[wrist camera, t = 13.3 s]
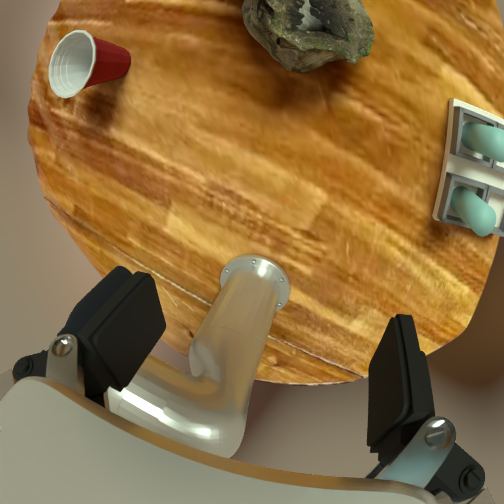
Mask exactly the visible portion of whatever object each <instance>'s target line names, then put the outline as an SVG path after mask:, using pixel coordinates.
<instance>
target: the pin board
mask: <svg viewBox="0 0 504 504" xmlns="http://www.w3.org/2000/svg"><path fill="white" fill-rule="evenodd" d="M467 122H473V123H478V124H483V125H487V126H492V127H496V128H500V129H503V130H504V119H502V118H500V117H498V116H496V115H493V114H491V113H489V112H487V111H485V110H482V109H480V108H477V107H475V106H473V105H470V104H468V103H465V102H462V101H460V100H457V99H454V98H449V115H448V127H447V137H446V145H445V153H444V160H443V166H442V172H441V177H440V183H439V188H438V193H437V197H436V202H435V206H434V210H433V214H432V217H433V218H434V219H435V220H437V221H441V222H443V223H448V224H453V225H457V226H462V227H466V228H470V229H472V230H473V231H474V232H475V233H476V234H477V235H478V236H486V235H488V234H490V233H491V234H495V235H499V236H502V237H504V162H503V163H501V162H497V161H495V160H493V159H491V158H489V157H486V156H484V155H482V154H479V153H477V152H474V151H472V150H469V149H467V148H466V147H465V146H464V145H463V143H462V141H461V136H462V126H463V125H464V124H465V123H467Z"/></svg>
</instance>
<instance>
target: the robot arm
mask: <svg viewBox="0 0 504 504" xmlns="http://www.w3.org/2000/svg"><path fill="white" fill-rule="evenodd" d="M220 285H221V291H220V293H219V294H218V296H217V298H216V300H215V301H214V303H213V305H212V307H211V308H210V310H209V312H208V313H207V315H206V317H205V319H204V320H203V322H202V324H201V326H200V327H199V329H198V331H197V333H196V334H195V336H194V338H193V340H192V342H191V344H190V348H189V364H190V369H191V373H192V375H190V374H188V373H186V372H183V371H181V370H179V369H177V368H175V367H173V366H171V365H169V364H167V363H165V362H164V361H162V360H160V359H158V358H156V357H155V356H153V355H151V354H149V353H150V352H151V350H152V349H153V347H154V346H155V344H156V343H157V342H158V340H159V339H160V337H161V336H162V334H163V333H164V331H165V329H166V322H165V319H164V315H163V312H162V308H161V304H160V301H159V297H158V293H157V289H156V285H155V281H154V279H153V278H152V276H151V275H150V274H148V273H144V272H139V271H137V272H135V273H134V274H133V275H132V276H131V277H130V278H129V279H128V280H127V281H126V282H125V283H124V284H123V285H122V286H121V287H120V288H119V289H118V290H117V291H116V292H115V293H114V294H113V296H112V297H111V298H110V299H109V300H108V301H107V302H106V303H105V304H104V305H103V306H102V307H101V308H100V309H99V310H98V311H97V312H96V313H95V315H94V316H93V317H92V318H91V319H90V320H89V321H88V322H87V323H86V324H85V325H84V327H83V328H82V329H81V330H80V331H79V332H78V333H77V334H78V336H79V338H78V339H76V337H75V336H73V335H71V334H63V335H60V336H58V337H56V338H55V339H54V340H53V341H52V342H51V344H50V346H49V350H48V351H45V352H41V353H38V354H33V355H29V356H25V357H23V358H21V359H19V360H18V361H17V362H16V364H15V366H14V368H13V371H12V369H10V370H8V371H6V372H5V373H3V374H1V375H0V504H495V502H494V500H493V498H492V496H491V494H490V492H489V490H488V488H487V487H486V488H484V487H483V485H484V481H485V472H484V469H483V468H482V466H481V465H480V464H479V463H478V462H477V461H475V460H474V459H473V458H472V457H471V456H470V455H469V454H467V453H466V452H465V451H464V450H463V449H461V447H460V446H458V445H457V444H456V443H455V440H456V430H455V427H454V425H453V423H452V422H451V421H450V420H449V419H447V418H445V417H443V416H435V410H434V402H433V395H432V388H431V383H430V376H429V370H428V365H427V360H426V356H425V353H424V352H423V351H420V347H419V342H418V338H417V333H416V329H415V325H414V321H413V317H412V316H411V315H404V314H397V315H396V316H395V318H394V317H392V318H391V319H390V321H389V323H388V326H387V328H386V330H385V332H384V334H383V337H382V339H381V341H380V343H379V345H378V347H377V349H376V351H375V353H374V356H373V358H372V359H371V362H370V364H369V402H368V429H367V446H371V448H370V453H378V461H379V462H378V463H377V464H376V465H375V466H374V467H373V468H372V469H371V470H370V471H369V472H368V473H367V474H366V475H365V476H364V477H363V478H348V477H332V476H321V475H312V474H304V473H295V472H289V471H282V470H276V469H271V468H266V467H261V466H256V465H252V464H247V463H243V462H239V461H235V460H232V459H228V458H230V457H231V456H232V455H233V454H234V453H235V452H236V451H237V449H238V447H239V446H240V443H241V440H242V438H243V434H244V430H245V424H246V415H247V409H248V403H249V398H250V393H251V389H252V385H253V382H254V378H255V375H256V372H257V369H258V366H259V363H260V359H261V356H262V353H263V350H264V347H265V344H266V341H267V337H268V334H269V331H270V328H271V325H272V321H273V318H274V315H275V312H277V311H279V310H280V309H281V308H283V307H284V305H285V304H286V303H287V301H288V299H289V295H290V289H291V288H290V282H289V279H288V276H287V275H286V273H285V272H284V270H283V269H282V268H281V267H280V266H279V265H278V264H276V263H275V262H274V261H272V260H270V259H268V258H266V257H263V256H259V255H254V254H246V255H240V256H237V257H235V258H233V259H232V260H230V261H229V262H228V263H227V264H226V265H225V267H224V268H223V270H222V272H221V275H220Z"/></svg>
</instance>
